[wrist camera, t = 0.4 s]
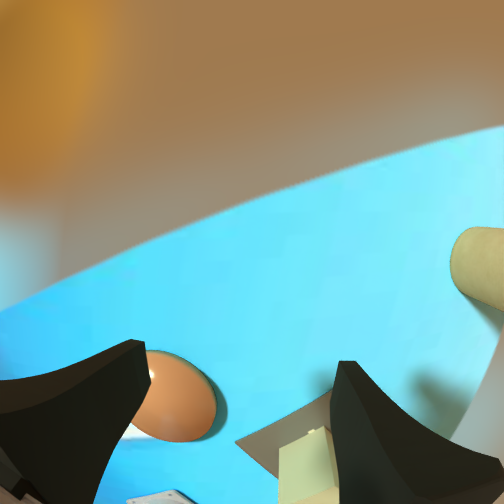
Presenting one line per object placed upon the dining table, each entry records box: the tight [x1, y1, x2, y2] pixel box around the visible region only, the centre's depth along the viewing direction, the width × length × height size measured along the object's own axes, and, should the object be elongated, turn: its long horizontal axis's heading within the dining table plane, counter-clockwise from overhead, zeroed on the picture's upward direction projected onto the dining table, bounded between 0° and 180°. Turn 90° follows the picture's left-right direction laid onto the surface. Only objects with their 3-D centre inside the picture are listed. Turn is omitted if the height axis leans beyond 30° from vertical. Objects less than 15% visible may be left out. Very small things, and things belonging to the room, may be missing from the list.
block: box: [278, 426, 339, 504], centre depth 18 cm, size 4×4×7 cm
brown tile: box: [235, 389, 333, 479], centre depth 22 cm, size 10×10×1 cm
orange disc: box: [131, 350, 217, 442], centre depth 22 cm, size 9×9×1 cm
